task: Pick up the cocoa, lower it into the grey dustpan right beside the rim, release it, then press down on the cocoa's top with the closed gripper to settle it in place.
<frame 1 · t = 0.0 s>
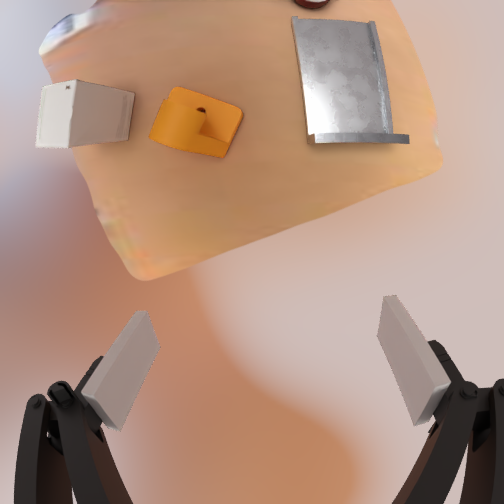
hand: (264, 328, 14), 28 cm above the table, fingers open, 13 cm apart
skincare box: (117, 117, 36), on the table
bracket: (202, 121, 36), on the table
grey dustpan: (342, 77, 32), on the table
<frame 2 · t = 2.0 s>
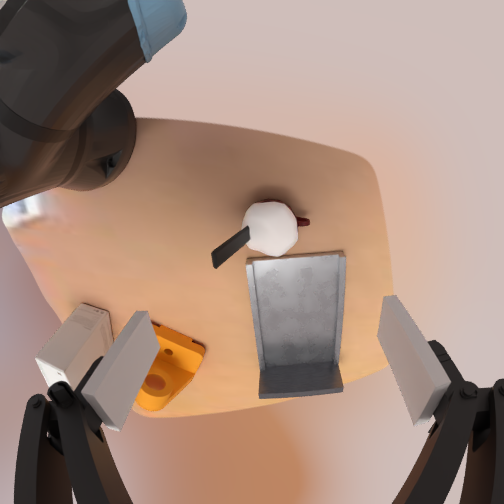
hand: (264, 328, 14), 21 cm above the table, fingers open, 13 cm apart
skincare box: (99, 324, 43), on the table
cocoa: (268, 218, 34), on the table
bracket: (172, 345, 43), on the table
grey dustpan: (297, 317, 39), on the table
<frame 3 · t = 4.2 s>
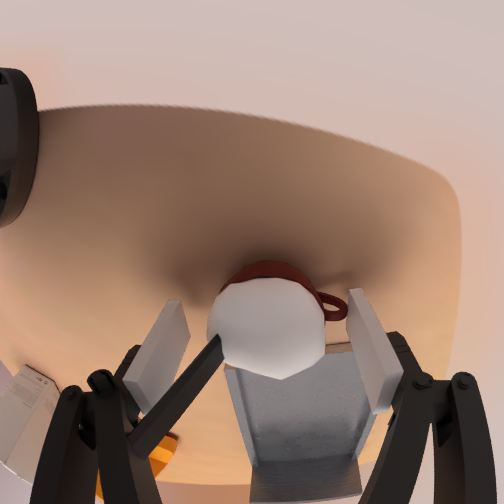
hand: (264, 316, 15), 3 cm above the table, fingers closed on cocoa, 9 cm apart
skincare box: (49, 389, 27), on the table
cocoa: (265, 289, 18), on the table, touching gripper
bracket: (135, 427, 27), on the table
grey dustpan: (307, 418, 23), on the table
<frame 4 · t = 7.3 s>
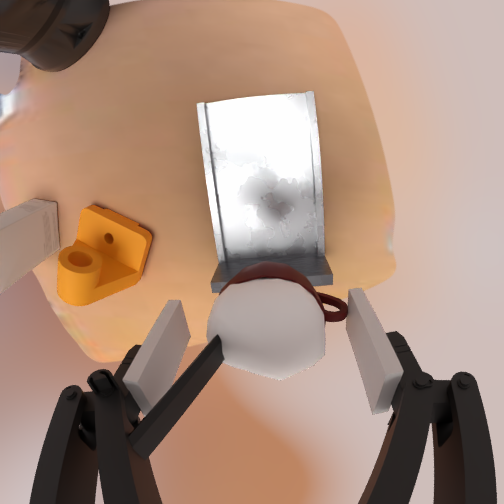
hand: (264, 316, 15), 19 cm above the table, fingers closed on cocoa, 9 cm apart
skincare box: (48, 224, 35), on the table
cocoa: (265, 290, 18), point 16 cm above the table, touching gripper
bracket: (117, 238, 35), on the table
grey dustpan: (264, 182, 31), on the table
when the fingers open (5 cm above the table, at t = 10.3 s): cocoa drops 1 cm, resting on grey dustpan.
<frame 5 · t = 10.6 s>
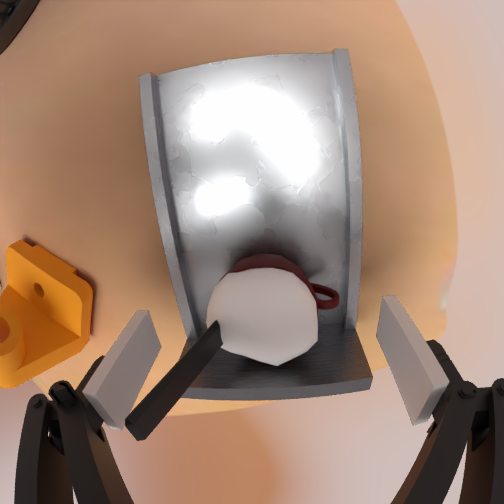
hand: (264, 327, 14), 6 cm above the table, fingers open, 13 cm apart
cocoa: (261, 281, 19), point 1 cm above the table, touching grey dustpan
bracket: (55, 284, 22), on the table
grey dustpan: (259, 209, 18), on the table
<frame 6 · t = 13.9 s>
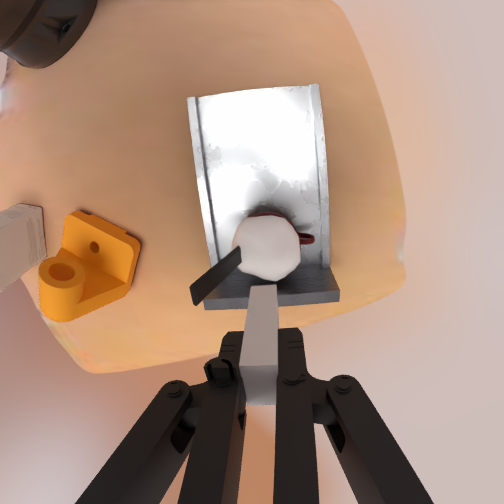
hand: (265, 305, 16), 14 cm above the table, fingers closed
skincare box: (34, 230, 32), on the table
cocoa: (264, 232, 29), point 1 cm above the table, touching grey dustpan
bracket: (104, 246, 32), on the table
grey dustpan: (263, 185, 28), on the table
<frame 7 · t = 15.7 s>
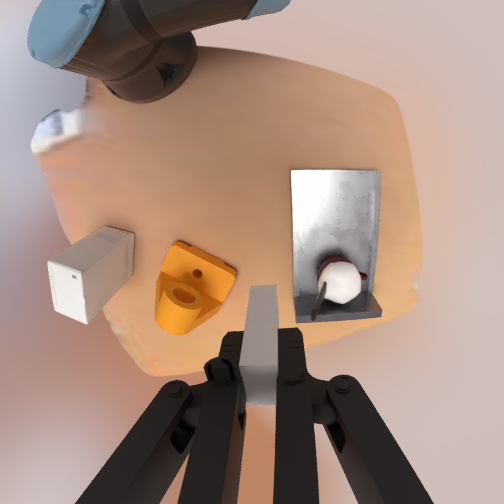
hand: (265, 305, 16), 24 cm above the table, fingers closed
skincare box: (120, 251, 43), on the table
cocoa: (332, 269, 41), point 1 cm above the table, touching grey dustpan
bracket: (199, 271, 43), on the table
grey dustpan: (334, 237, 40), on the table
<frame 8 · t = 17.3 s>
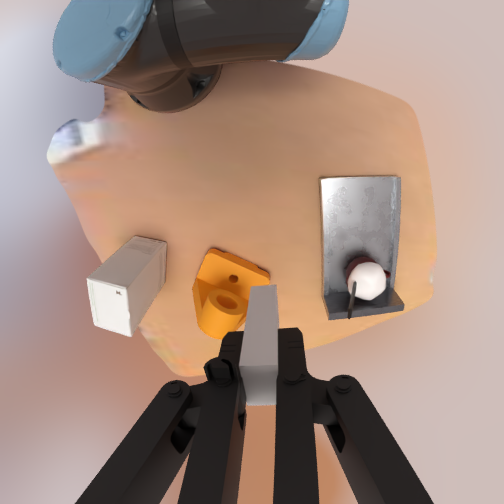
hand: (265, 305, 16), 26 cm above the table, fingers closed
skincare box: (151, 259, 46), on the table
cocoa: (358, 268, 43), point 1 cm above the table, touching grey dustpan
bracket: (233, 276, 46), on the table
grey dustpan: (359, 238, 42), on the table
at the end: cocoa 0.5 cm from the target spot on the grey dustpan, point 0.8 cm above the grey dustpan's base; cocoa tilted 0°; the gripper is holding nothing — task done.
